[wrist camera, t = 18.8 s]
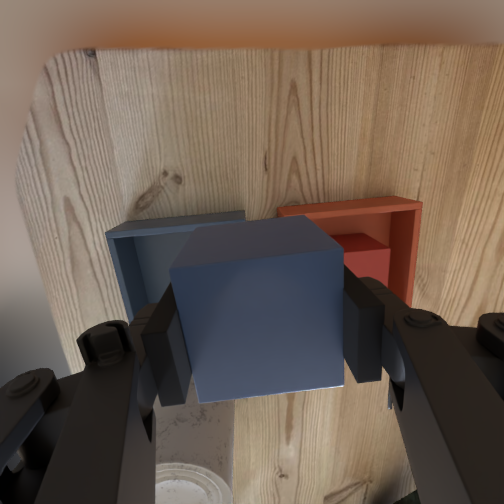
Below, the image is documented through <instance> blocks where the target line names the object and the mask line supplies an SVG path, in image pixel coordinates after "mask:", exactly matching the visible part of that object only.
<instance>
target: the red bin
mask: <svg viewBox="0 0 504 504" xmlns="http://www.w3.org/2000/svg"><path fill="white" fill-rule="evenodd" d="M422 205H423V202H420V201H415V200H411V199H406V198H402V197H398V196H389V197H378V198H368V199H357V200H347V201H336V202H326V203H315V204H305V205H294V206H284V207H277V215H278V218H279V217H287V216H296V215H305V216H306V217H308V218H309V219H310V220H311V221H312V222H314V223H315V224H316V225H317V226H318V227H319V228H321V229H322V230H323V231H324V232H325V233H327V234H328V235H329V236H332V235H343V234H354V233H365V234H367V235H368V236H370V237H372V238H374V239H375V240H377V241H379V242H380V243H382V244H384V245H385V246H387V247H389V248H390V249H391V250H390V263H389V275H388V287H387V289H390V290H391V291H392V292H393V294H395V295H397V296H398V297H399V298H400V299H401V300H402V301H403V302H405V303H406V304H407V305H408V306H409V307H410V308H411V304H412V295H413V286H414V277H415V268H416V259H417V250H418V241H419V232H420V223H421V214H422Z"/></svg>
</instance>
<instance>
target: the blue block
mask: <svg viewBox="0 0 504 504" xmlns="http://www.w3.org/2000/svg"><path fill="white" fill-rule="evenodd" d="M168 271H169V275H170V279H171V284H172V288H173V292H174V297H175V301H176V306H177V310H178V314H179V318H180V323H181V327H182V332H183V336H184V340H185V345H186V349H187V353H188V358H189V362H190V366H191V371H192V375H193V380H194V384H195V388H196V393H197V397H198V401H199V403H208V402H216V401H224V400H233V399H241V398H249V397H257V396H266V395H274V394H282V393H290V392H299V391H307V390H315V389H323V388H332V387H340V386H344V357H343V288H344V248H343V247H342V246H341V245H340V244H338V243H337V242H336V241H335V240H334V239H332V238H331V237H330V236H329V235H328V234H327V233H325V232H324V231H323V230H322V229H321V228H319V227H318V226H317V225H316V224H315V223H314V222H312V221H311V220H310V219H309V218H308V217H306V216H305V215H296V216H287V217H279V218H271V219H262V220H254V221H246V222H237V223H229V224H221V225H212V226H204V227H196V228H195V230H194V231H193V233H192V234H191V236H190V237H189V239H188V240H187V242H186V243H185V245H184V246H183V248H182V249H181V251H180V252H179V254H178V255H177V257H176V258H175V260H174V261H173V263H172V264H171V266H170V267H169V269H168Z"/></svg>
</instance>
